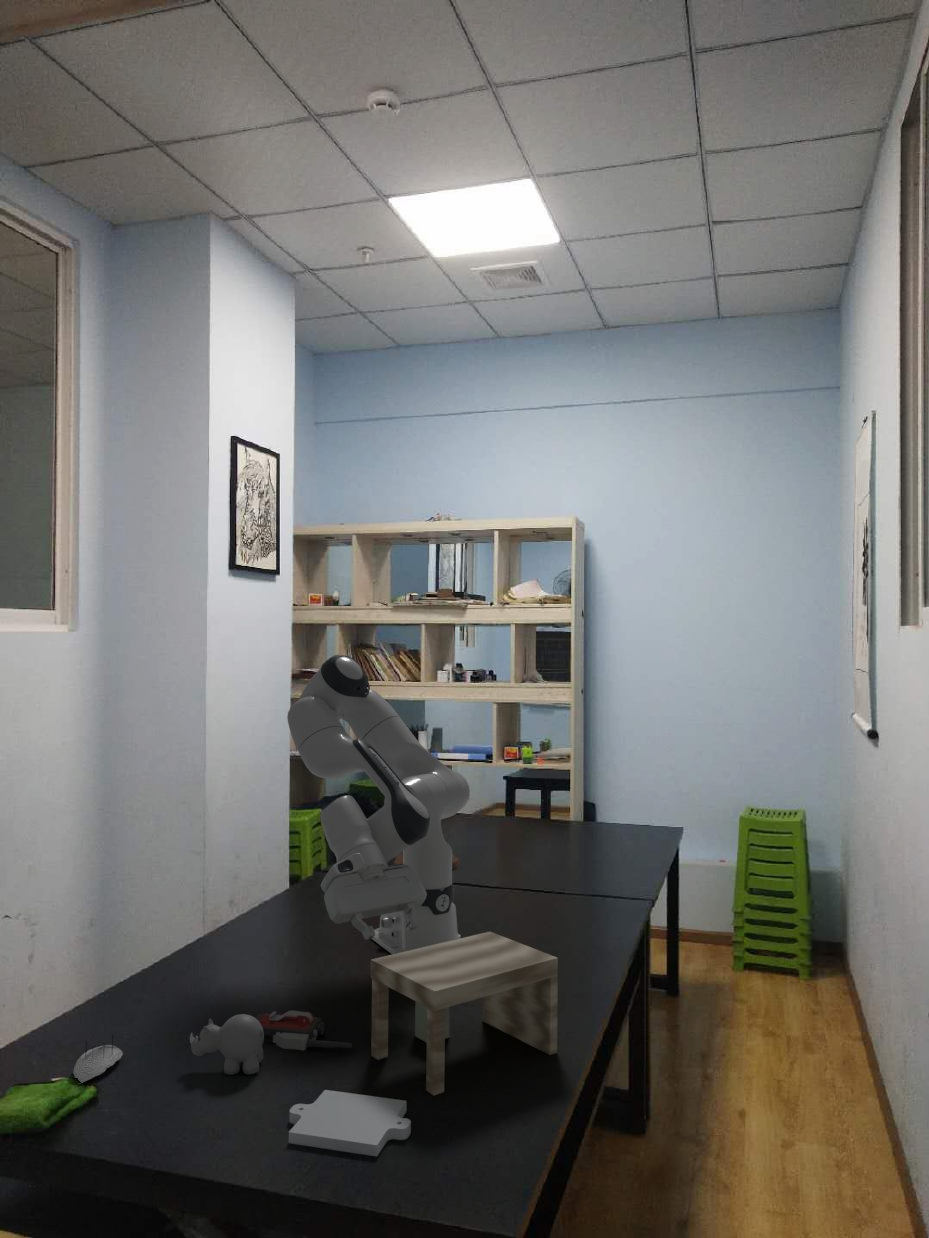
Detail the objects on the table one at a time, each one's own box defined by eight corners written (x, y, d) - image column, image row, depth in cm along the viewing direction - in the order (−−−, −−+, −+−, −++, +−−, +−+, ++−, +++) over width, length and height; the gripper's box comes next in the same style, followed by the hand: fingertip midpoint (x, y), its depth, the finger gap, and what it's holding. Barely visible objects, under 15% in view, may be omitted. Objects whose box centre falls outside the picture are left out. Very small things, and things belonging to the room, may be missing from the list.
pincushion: (98, 1088, 152) (98, 1051, 152) (60, 1085, 152) (61, 1049, 152) (133, 1055, 164) (133, 1021, 164) (98, 1052, 164) (98, 1018, 164)
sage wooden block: (415, 1035, 172) (415, 990, 172) (435, 1029, 175) (436, 984, 175) (428, 1043, 169) (429, 996, 169) (449, 1037, 172) (449, 991, 172)
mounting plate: (422, 1116, 144) (422, 1102, 144) (394, 1161, 132) (394, 1147, 132) (309, 1100, 149) (309, 1087, 149) (271, 1143, 136) (272, 1129, 136)
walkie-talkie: (236, 1047, 167) (350, 1056, 164) (237, 1021, 167) (350, 1030, 164) (255, 1027, 176) (363, 1035, 173) (255, 1002, 176) (364, 1010, 173)
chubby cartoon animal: (196, 1057, 162) (197, 1006, 162) (268, 1059, 162) (269, 1007, 162) (182, 1077, 155) (183, 1023, 155) (258, 1078, 155) (258, 1024, 155)
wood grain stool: (369, 1055, 164) (370, 959, 164) (489, 1018, 180) (489, 931, 180) (433, 1096, 150) (434, 991, 150) (556, 1052, 166) (557, 957, 166)
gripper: (402, 871, 198) (430, 931, 190) (312, 886, 185) (338, 952, 177) (415, 853, 194) (444, 913, 186) (324, 867, 182) (351, 933, 174)
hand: (392, 932), depth 182 cm, fingers open, 8 cm apart
